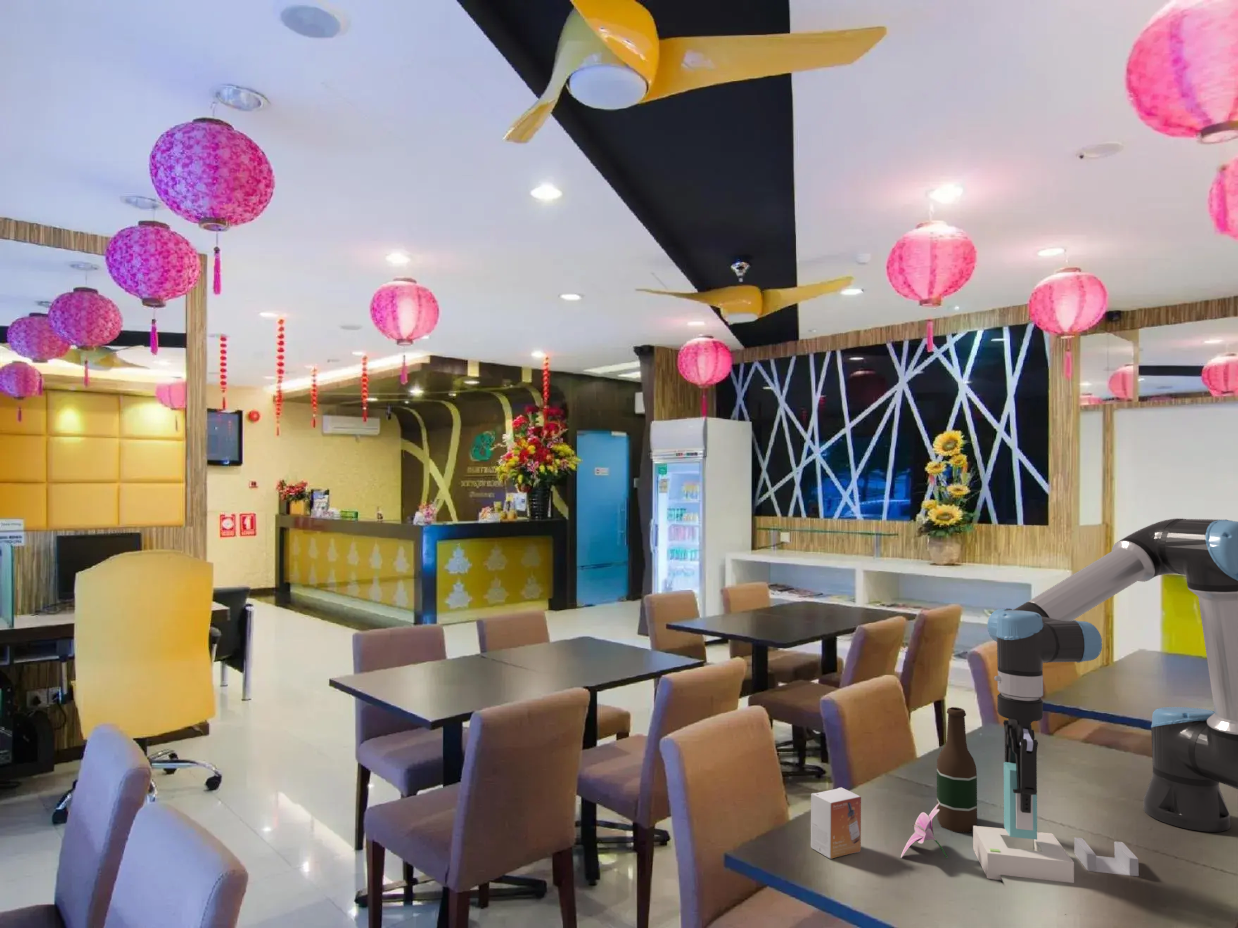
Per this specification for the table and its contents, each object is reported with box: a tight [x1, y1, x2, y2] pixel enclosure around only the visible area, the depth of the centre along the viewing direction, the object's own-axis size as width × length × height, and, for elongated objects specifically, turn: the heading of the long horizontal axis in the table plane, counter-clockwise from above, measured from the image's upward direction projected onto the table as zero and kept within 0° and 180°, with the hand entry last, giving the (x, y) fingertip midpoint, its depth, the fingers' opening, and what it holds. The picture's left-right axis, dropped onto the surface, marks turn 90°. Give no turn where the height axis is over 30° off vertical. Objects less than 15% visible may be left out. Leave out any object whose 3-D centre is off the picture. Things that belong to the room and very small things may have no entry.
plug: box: [1003, 761, 1038, 840], centre depth 145 cm, size 4×4×12 cm
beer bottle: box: [936, 706, 978, 834], centre depth 163 cm, size 8×8×24 cm
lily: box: [900, 803, 948, 859], centre depth 150 cm, size 12×12×10 cm
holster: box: [1073, 836, 1140, 877], centre depth 144 cm, size 8×7×4 cm
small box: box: [810, 786, 862, 859], centre depth 151 cm, size 8×6×10 cm
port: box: [972, 825, 1075, 884], centre depth 144 cm, size 14×12×5 cm
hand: (1020, 822), depth 145 cm, fingers closed on plug, 4 cm apart
